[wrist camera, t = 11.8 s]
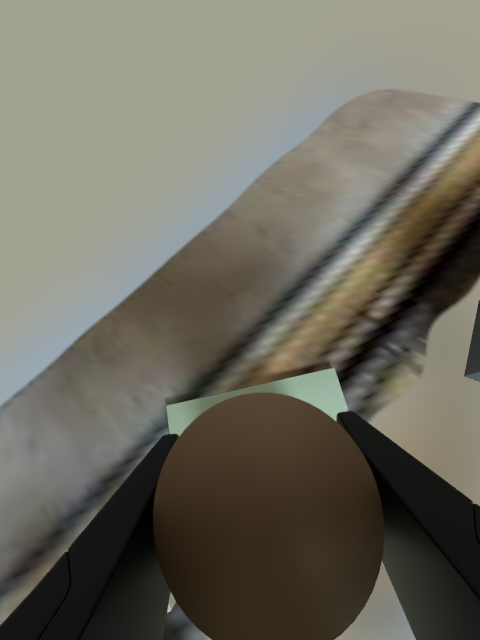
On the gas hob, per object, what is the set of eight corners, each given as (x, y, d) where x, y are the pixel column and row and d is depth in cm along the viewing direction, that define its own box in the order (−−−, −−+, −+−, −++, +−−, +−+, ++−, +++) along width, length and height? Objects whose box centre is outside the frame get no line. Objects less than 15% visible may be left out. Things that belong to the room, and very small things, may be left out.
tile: (382, 523, 16) (385, 526, 15) (188, 567, 16) (186, 570, 15) (333, 369, 18) (334, 367, 18) (168, 406, 18) (166, 405, 18)
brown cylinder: (339, 519, 13) (459, 655, 5) (222, 545, 13) (146, 724, 5) (305, 398, 15) (351, 351, 7) (202, 421, 15) (123, 402, 7)
